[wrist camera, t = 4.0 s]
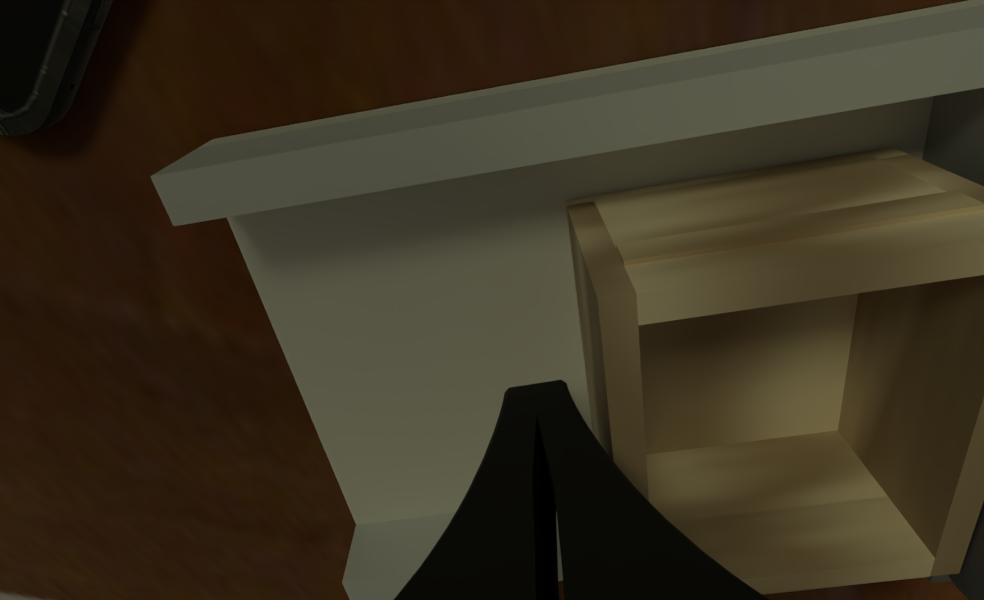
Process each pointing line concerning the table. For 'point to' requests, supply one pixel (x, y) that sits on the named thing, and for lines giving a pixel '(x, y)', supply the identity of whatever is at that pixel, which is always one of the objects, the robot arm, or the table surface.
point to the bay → (529, 234)
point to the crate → (794, 362)
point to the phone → (44, 59)
